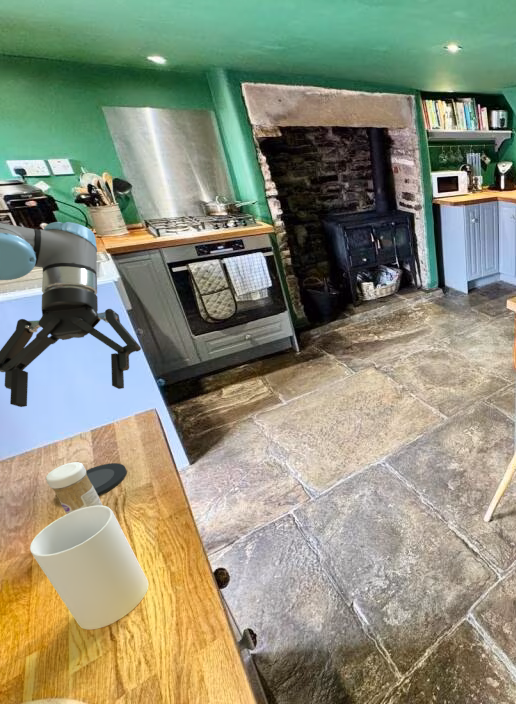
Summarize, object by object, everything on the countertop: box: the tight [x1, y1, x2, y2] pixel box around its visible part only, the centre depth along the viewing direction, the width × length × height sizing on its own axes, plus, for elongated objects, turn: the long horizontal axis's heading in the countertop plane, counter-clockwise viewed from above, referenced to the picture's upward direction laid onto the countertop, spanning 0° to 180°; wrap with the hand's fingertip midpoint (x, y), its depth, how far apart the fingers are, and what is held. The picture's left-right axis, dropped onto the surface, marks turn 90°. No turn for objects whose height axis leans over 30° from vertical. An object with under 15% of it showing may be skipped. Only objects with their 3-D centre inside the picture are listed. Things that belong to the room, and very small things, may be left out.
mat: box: [86, 462, 128, 497], centre depth 84 cm, size 10×10×1 cm
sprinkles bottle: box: [45, 461, 104, 515], centre depth 72 cm, size 5×5×13 cm
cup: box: [29, 505, 150, 631], centre depth 60 cm, size 8×8×16 cm
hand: (70, 395), depth 75 cm, fingers open, 13 cm apart
